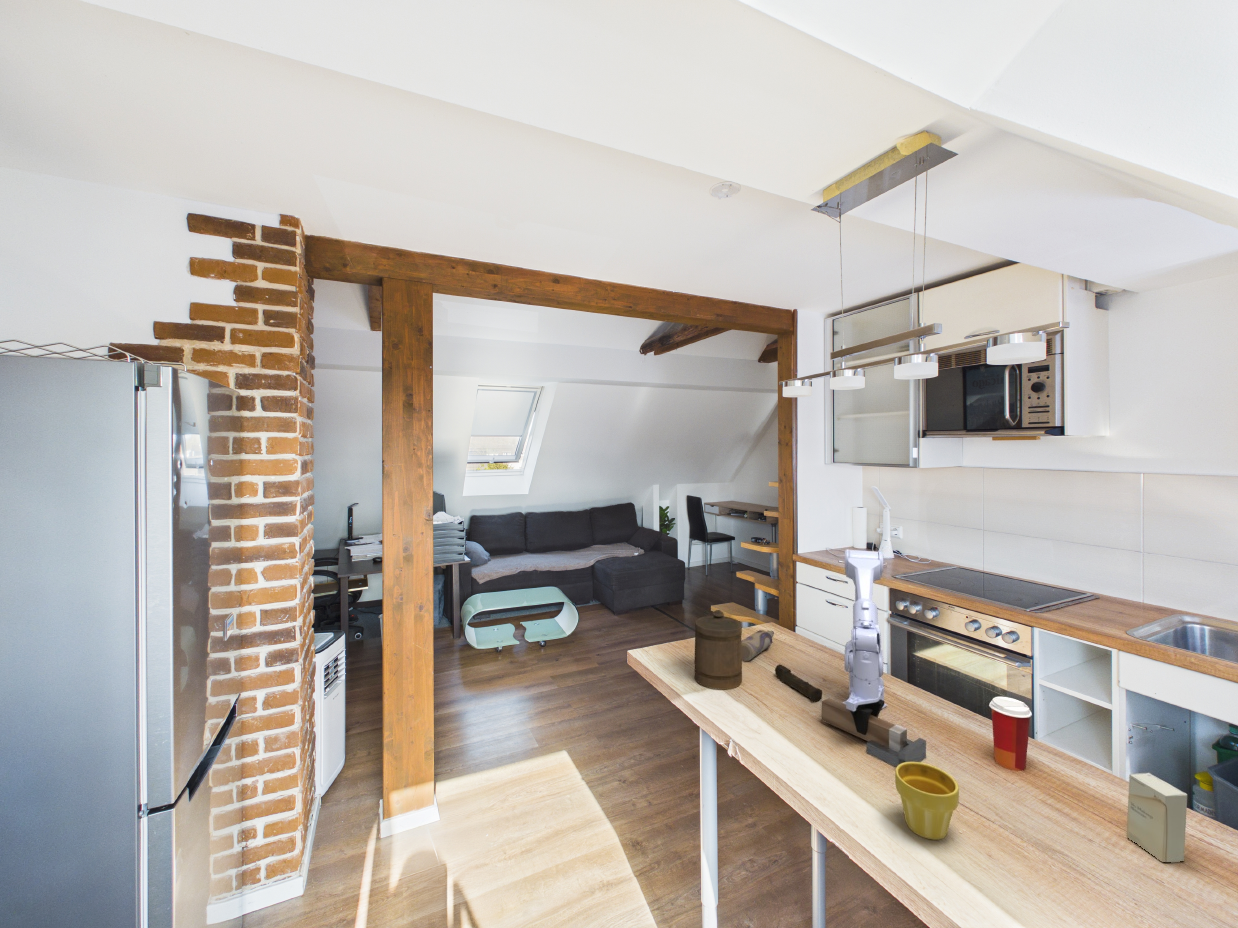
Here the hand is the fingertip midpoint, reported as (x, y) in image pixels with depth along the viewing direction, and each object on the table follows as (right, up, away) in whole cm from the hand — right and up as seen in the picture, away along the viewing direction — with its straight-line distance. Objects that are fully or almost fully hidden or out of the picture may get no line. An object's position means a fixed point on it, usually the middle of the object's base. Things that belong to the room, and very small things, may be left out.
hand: (865, 730), depth 127 cm
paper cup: (+28, -3, -10) cm, 30 cm away
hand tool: (-8, -3, +29) cm, 30 cm away
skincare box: (+35, -3, -35) cm, 50 cm away
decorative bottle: (-11, -2, +58) cm, 59 cm away
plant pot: (-3, -3, -30) cm, 30 cm away
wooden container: (-30, -2, +35) cm, 46 cm away
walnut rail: (-1, -2, +1) cm, 2 cm away
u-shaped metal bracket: (+4, -3, -6) cm, 8 cm away
